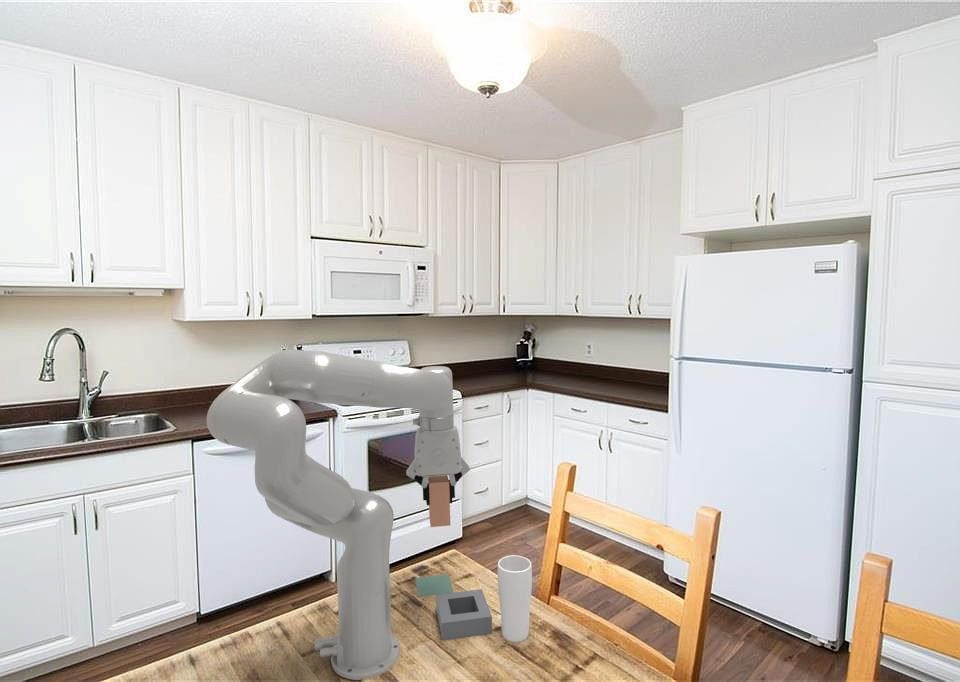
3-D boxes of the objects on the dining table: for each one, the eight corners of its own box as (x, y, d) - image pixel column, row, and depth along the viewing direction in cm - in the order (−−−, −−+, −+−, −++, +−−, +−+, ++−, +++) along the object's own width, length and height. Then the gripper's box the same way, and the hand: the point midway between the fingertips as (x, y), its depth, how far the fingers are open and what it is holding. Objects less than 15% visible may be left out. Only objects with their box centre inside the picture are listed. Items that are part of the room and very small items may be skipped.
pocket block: (442, 642, 102) (441, 623, 102) (436, 612, 112) (436, 594, 111) (492, 635, 104) (491, 616, 103) (482, 606, 114) (481, 589, 113)
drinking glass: (530, 649, 100) (530, 573, 98) (495, 644, 101) (494, 570, 100) (533, 627, 106) (533, 556, 105) (501, 623, 108) (500, 553, 106)
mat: (417, 598, 117) (417, 596, 117) (415, 579, 125) (415, 577, 125) (453, 594, 118) (453, 592, 118) (448, 576, 126) (448, 574, 126)
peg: (430, 527, 115) (429, 483, 114) (429, 518, 119) (428, 476, 118) (450, 525, 116) (449, 481, 115) (448, 516, 120) (447, 474, 119)
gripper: (398, 429, 110) (401, 512, 112) (476, 424, 113) (478, 505, 115) (398, 420, 118) (401, 498, 120) (471, 416, 120) (473, 492, 122)
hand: (439, 501), depth 117 cm, fingers closed on peg, 4 cm apart
